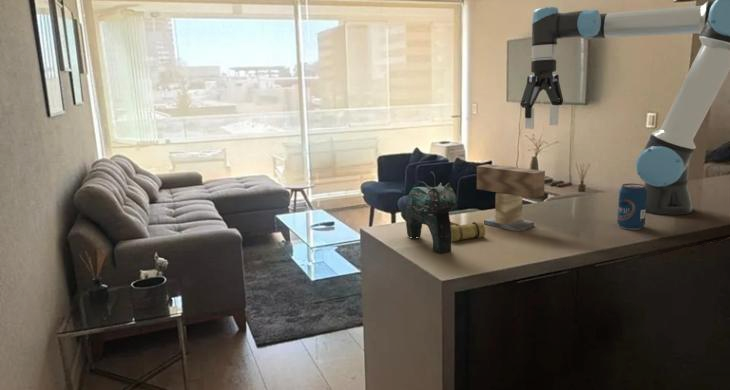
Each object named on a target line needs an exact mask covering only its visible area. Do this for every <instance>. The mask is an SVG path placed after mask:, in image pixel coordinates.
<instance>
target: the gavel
mask: <svg viewBox="0 0 730 390" xmlns="http://www.w3.org/2000/svg"><path fill="white" fill-rule="evenodd" d="M450 226H451V235H452V236H451V243H453V242H458V241H461V240H468V239H474V238H476V239H480V238H484V237H485V235H486V227H485V224H484V222H482V221H481V220H480V221H473V222H471V223H466V224H461V225H460V224H458V223H456V222H453V221H450Z"/></svg>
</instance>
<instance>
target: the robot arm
mask: <svg viewBox="0 0 730 390" xmlns="http://www.w3.org/2000/svg"><path fill="white" fill-rule="evenodd" d="M687 34H689V35H690V34H698V35H699V36H698V38H699V41H700V43H701V46H700V48H699V50H698V52H697V53H696V54H697V55H696V56H695V58H694V60H693V62H692V64H691V67H690V68H689V70H688V72H687V74H686V76H685V79H684V80H683V82H682V84H681V87H680V89H679V91H678V93H677V94H676V96H675V98H674V101H673V103H672V104H671V107H670V109H669V111H668V113H667V115H666V117H665V119H664V121H663V124H662V125H661V127H660V128H659V129H657V130H655V131H653V132H651V134H650V136H649V137H648V139H647V142H646V144H645V146H644V148H643V150H642V151H641V153H640V154H639V155H638V156H637V158H636V162H635V170H636V173H637V175H638V178H640V179H641V180H642V182H644V183H643V185H645V189H646V191H647V202H646V213H650V214H655V215H656V214H657V215H666V214H667V215H669V216H672V215H673V216H674V215H675V216H679V215H687V214H690V213H692V210H693V202H692V199H691V195H690V191H689V188H688V184H689V170H690V159H691V157H692V155H693V153H694V151H695V150H696V148H697V147H696V144H695V142H694V139H695V136H696V135H697V133H698V131H699V129H700V127H701V125H702V123H703V122H704V119H705V118H706V115H707V114H708V111H709V110H710V108H711V106H712V104H713V102H714V101H715V99H716V97H717V95H718V94H719V91H720V89H721V87H722V85H723V84H724V81H725V80H726V78H727V76H728V74H729V72H730V0H708V1H706V2H705V3H704V4H702V5H693V6H692V5H691V6H680V7H678V6H677V7H670V8H669V7H668V8H654V9H645V10H644V9H643V10H631V11H620V12H619V11H617V12H607V13H606V12H604V13H600V11H599V9H584V10H576V11H570V12H559V8H558V7H555V6H547V7H545V6H544V7H540V8H536V9H534V11H533V13H532V24H531V59H532V60H531V64H530V65H531V66H530V71H531V75H527V80H526V85H525V88H524V90H523V94H522V97H521V101H520V107H521V108H522V109H523V108H524V111H525V112H524V120H525V121H524V125H525V126H524V127H525V128H524V129H527V130H528V129H531V130H533V129H534V128H535V107H533V106H534V105H535V103H536V101H537V99H538V97H539V94H540V93H541V92H542V91H543V90H544V91H545V92H546V95H547V97H548V98H549V101H550V105H549V124H548V125H549V126H559V111H560V110H559V109H560V106H562V105H563V103H564V98H563V93H562V89H561V84H560V77H559V74H554V73H555V72H556V71H557V59H556V58H557V57H558V56H557V55H558V40H560V39H572V38H577V39H583V40H586V41H588V40H589V41H592V40H597V39H609V38H610V39H613V38H631V37H648V36H649V37H650V36H671V35H673V36H674V35H687ZM532 73H533V75H532Z"/></svg>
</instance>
